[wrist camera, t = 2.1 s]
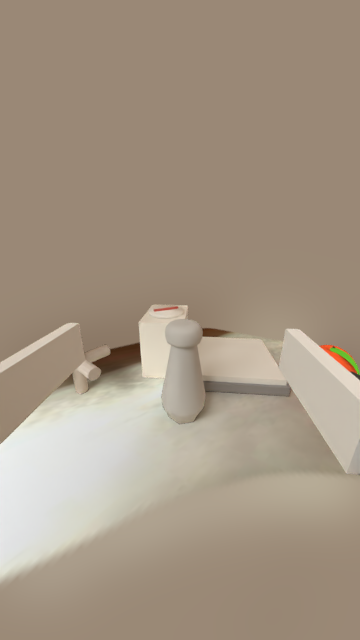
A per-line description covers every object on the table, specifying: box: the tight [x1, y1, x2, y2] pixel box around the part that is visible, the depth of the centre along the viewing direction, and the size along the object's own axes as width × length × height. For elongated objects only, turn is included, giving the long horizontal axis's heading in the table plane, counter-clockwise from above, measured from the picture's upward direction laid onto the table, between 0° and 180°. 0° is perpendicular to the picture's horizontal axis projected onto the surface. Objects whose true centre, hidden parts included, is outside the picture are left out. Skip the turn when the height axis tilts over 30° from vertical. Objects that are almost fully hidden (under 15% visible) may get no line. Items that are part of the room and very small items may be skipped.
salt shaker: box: [161, 319, 206, 424], centre depth 26 cm, size 6×6×13 cm
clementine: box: [319, 345, 359, 375], centre depth 31 cm, size 8×7×7 cm
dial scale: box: [139, 305, 291, 396], centre depth 37 cm, size 23×15×11 cm, turn 85°
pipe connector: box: [72, 344, 110, 394], centre depth 30 cm, size 10×10×10 cm
